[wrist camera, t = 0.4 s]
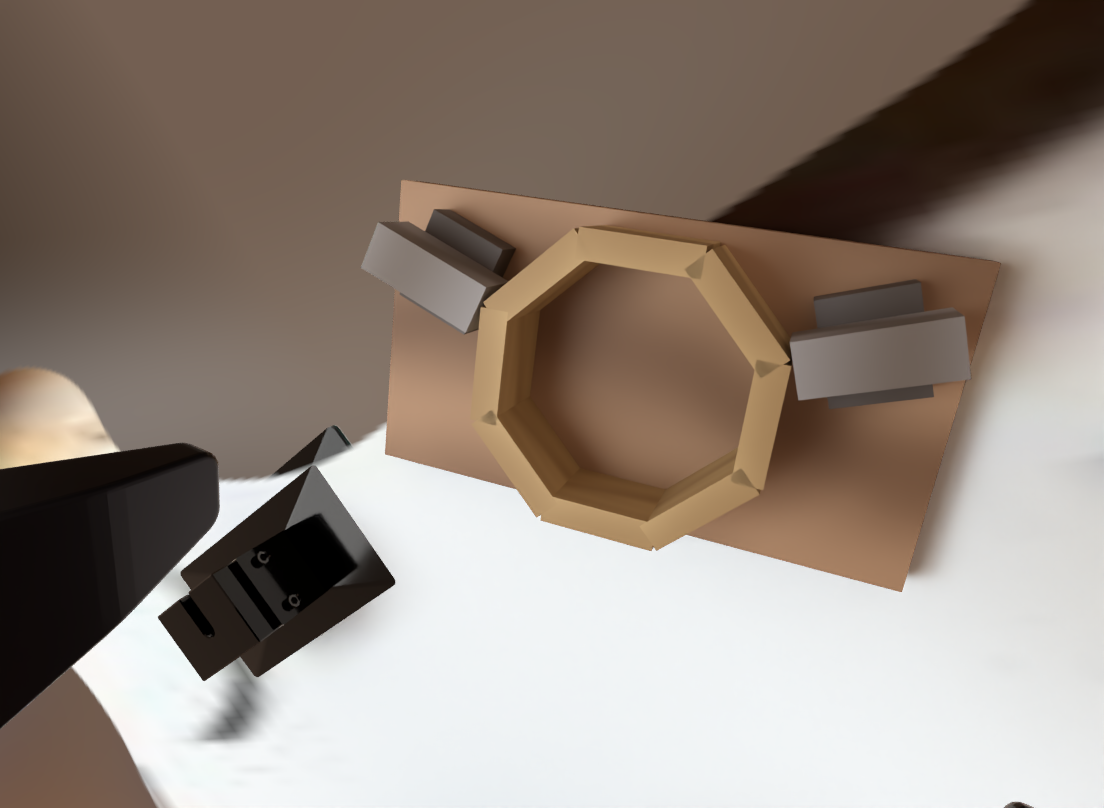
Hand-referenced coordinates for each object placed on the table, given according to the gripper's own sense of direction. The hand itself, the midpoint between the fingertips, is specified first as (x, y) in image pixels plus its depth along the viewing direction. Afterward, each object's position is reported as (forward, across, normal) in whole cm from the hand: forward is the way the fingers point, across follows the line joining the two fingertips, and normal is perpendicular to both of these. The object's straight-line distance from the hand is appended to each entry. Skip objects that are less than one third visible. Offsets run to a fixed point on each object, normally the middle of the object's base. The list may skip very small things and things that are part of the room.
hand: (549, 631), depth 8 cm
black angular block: (+14, +14, +16) cm, 25 cm away
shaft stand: (+14, +2, +3) cm, 15 cm away
